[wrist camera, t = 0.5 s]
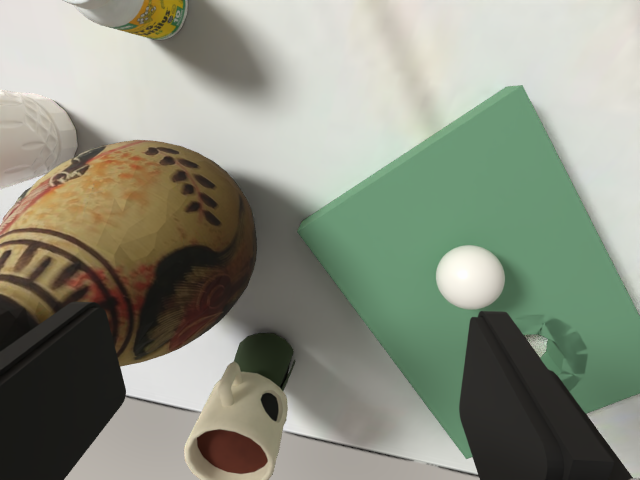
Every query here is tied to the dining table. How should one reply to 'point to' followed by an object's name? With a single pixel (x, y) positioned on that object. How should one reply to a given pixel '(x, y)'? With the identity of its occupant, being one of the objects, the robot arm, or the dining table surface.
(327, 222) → the board
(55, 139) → the white cup
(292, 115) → the dining table surface
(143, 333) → the ceramic jug
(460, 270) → the golf ball
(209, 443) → the character mug
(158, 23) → the supplement bottle
